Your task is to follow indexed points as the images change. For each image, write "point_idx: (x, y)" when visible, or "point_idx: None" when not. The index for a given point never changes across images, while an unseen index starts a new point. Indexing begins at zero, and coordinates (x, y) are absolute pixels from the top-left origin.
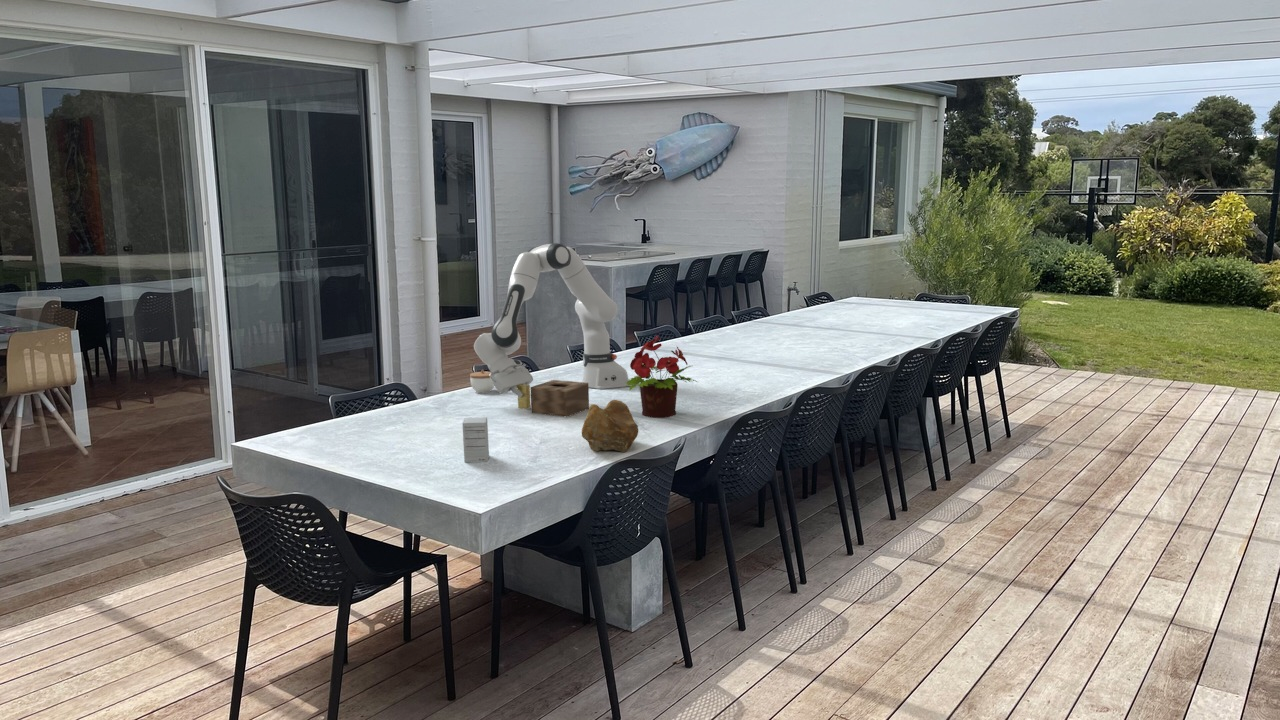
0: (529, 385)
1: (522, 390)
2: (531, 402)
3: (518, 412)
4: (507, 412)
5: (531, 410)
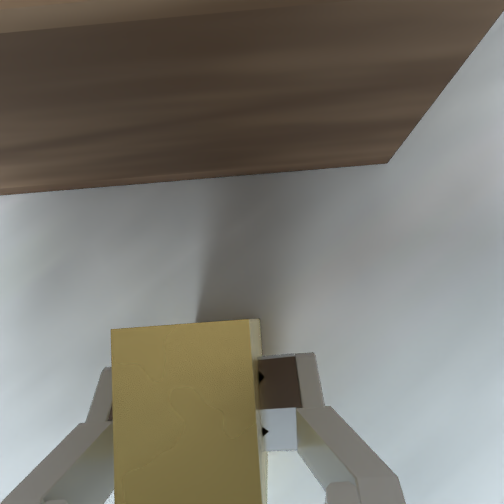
0: (121, 328)
1: (258, 400)
2: (422, 108)
3: (426, 292)
4: (486, 395)
5: (393, 151)
